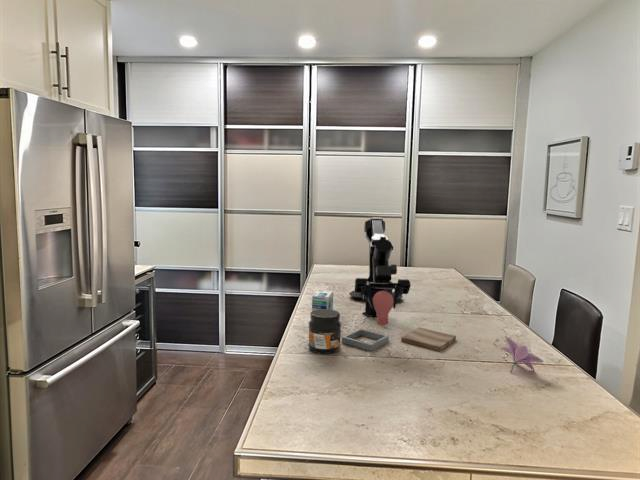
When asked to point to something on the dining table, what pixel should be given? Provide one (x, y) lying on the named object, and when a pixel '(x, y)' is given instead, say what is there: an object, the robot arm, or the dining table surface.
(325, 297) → the light bulb box
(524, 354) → the lily
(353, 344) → the holder frame
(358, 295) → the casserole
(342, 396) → the dining table surface
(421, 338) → the walnut board
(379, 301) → the light bulb
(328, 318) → the supplement container
